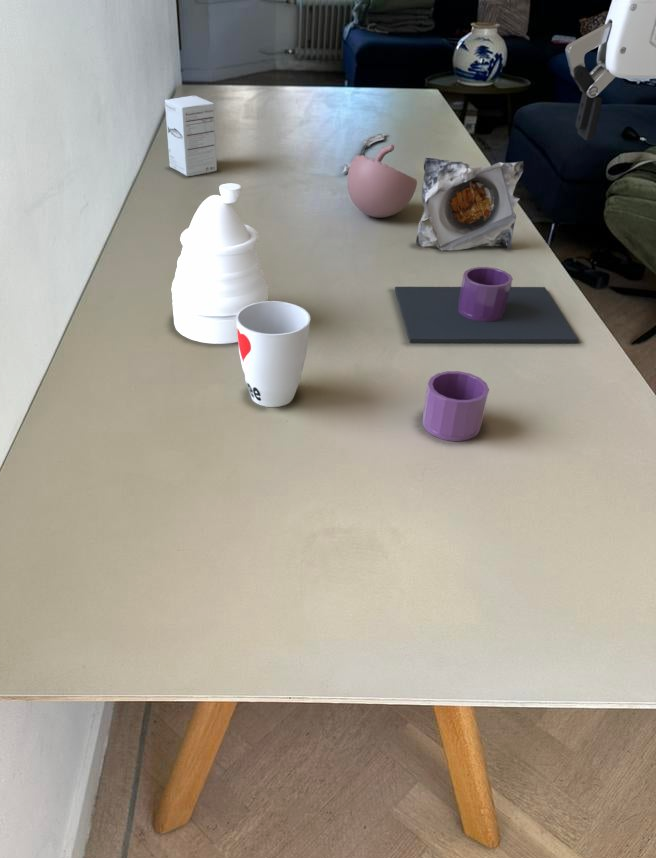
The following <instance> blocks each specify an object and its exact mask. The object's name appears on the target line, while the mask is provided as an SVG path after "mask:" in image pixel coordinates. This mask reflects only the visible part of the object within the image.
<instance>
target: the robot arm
mask: <svg viewBox="0 0 656 858" xmlns="http://www.w3.org/2000/svg"><path fill="white" fill-rule="evenodd" d="M596 48H598V50H597V55H596V66H595V67H594V68H593V69H592V70H591V71H590V72H589V71H588V69H587V68H586V64H585V55H586V54H587V53H588V52H590V51H592V50H594V49H596ZM564 51H565V52H564V53H565V56H566V60H567V64H568V67H569V74H570V76H571V78H572V79H573V81H574V82H575V83H576V85H577V86H578V88H579V91H580V92H582V93H581V98H580V102H579V107H578V111H577V115H576V119H575V128H576V130H577V134H578V136H580V137H581V138H582V139H583V140H584V141H591V140H593V139H594V138H595V133H596V130H597V126H598V121H599V117H600V114H601V110H602V106H603V98H602V97H601V96H600V95H601V92H602V91H603V90H605V88H607V86H608V85H609V84H610V83H611V82H613V80H614V79H616V78H619V79H626V80H627V79H628V80H629V79H634V80H636V79H637V80H639V79H642V80H643V79H644V80H645V79H649V80H650V79H654V80H655V79H656V0H611V3H610V6H609V10H608V12H607V16H606V19H605V22H604V24H603V25H602V26H600V27H598V28H596V29H594V30H592V31H590V32H588V33H587V34H584V35H583V36H581V37H579V38H577V39H576V40H573V41H571V42H570V43H568V44H567V45H566V47H565V49H564Z"/></svg>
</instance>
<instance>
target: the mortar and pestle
mask: <svg viewBox="0 0 656 858" xmlns="http://www.w3.org/2000/svg"><path fill="white" fill-rule="evenodd" d="M394 150H395V145H394V144H389V145H387V146H385V147H382V148H380V149H379V151H378V153H377V155H376V156H375V158H374V159H373V158H371V157H367V156H365V154H364V155H363V154H362V156H359V155H358V154H355V155H354V157H353V159H352V161H351V162H352V163H351V162H350V163H351V165H350V168H349V171H348V172H347V175H346V176H347V177H346V186H347V192H348V196H349V198H350V200H351V201H352V203H353V204H354V206H355V207H356V208H357V209H358V210H359V211H360V212H361V213H363V214H365V215H366V216H369V217H372V218H388V217H391V216H394V215H396V214H397V213H399V212H401V211H402V210H403V209H405V208H406V206H408V205H409V203H410V202H411V200H412V198H413V197H414V195H415V193H416V189H417V186H418V180H417V178H414V177H412V176H410V175H408V174H406V173H404V172H401V171H400V170H397V169H396V168H394V167H392V166H389V165H388V164H385V163H382V161H383V159H384V157H385V156H386V155H387V154H389V153H392V152H393V151H394Z"/></svg>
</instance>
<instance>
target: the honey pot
mask: <svg viewBox="0 0 656 858" xmlns="http://www.w3.org/2000/svg"><path fill="white" fill-rule="evenodd" d="M218 186H219V193H220V195H218V194H212V195H209V196H208V197H206V198H205V200H203V201H202V202H201V204H200V205H199V206H198V208H197V210H196V211H195V213H194V215H193V217H192V219H191V222H190V224H189V227H186V229H184V230H183V231H182V233H181V234H180V238H179V240H180V243H181V245H182V248H181V253H180V256H178V258H177V263H176V266H177V267H176V268H175V274H174V278H173V279H172V284H171V290H170V291H171V294H172V295H171V298H172V302H171V303H172V304H171V305H172V313H173V314H172V315H173V325H174V327H175V330H176V331H177V332H178V333H179V334H180V335H182V336H183V337H185V338H187V339H188V340H192V341H194V342H195V341H196V342H199V343H205V344H212V345H213V344H214V345H215V344H216V345H218V344H219V345H226V344H234V343H238V333H237V321H236V316H237V313H238V312H239V311H240V310H241V309H242V308H244V307H246V306H248V305H251V304H254V303H258V302H265V301H269V285H268V280H267V279H266V277H265V275H264V270H263V269H264V268H263V267H262V266H261V258H260V257H259V256H258V253H257V251H256V248H255V247H256V246H257V245H258V243H259V240H260V235H259V233H258V232H257V230H256V229H255V228H253V227H252V226H250V225H248V224H245V223H244V221H243V219H242V217H241V215H240V214H239V212H238V211H237V209H236V208H235V207H234V205H233V204H234V203H235V202H237V200H238V199H239V197H240V194H241V187H242V186H241V185H240V184H238V183H234V182H232V183H231V182H229V183H222V184H220V185H218Z"/></svg>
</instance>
